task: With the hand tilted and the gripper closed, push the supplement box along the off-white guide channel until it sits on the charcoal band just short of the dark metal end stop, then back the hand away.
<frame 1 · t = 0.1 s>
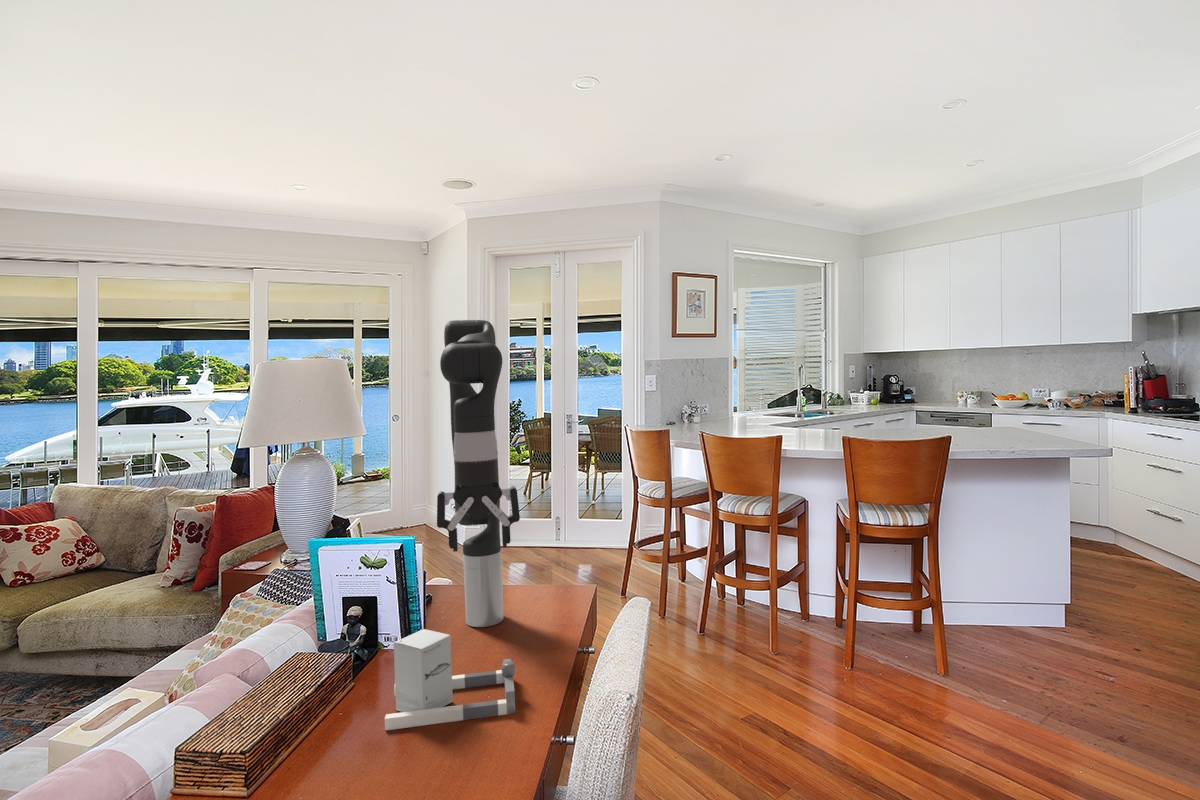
hand: (480, 548, 111), 29 cm above the table, tool pointing down, fingers open, 8 cm apart
supplement box: (425, 707, 115), on the table
guide channel: (453, 702, 116), on the table
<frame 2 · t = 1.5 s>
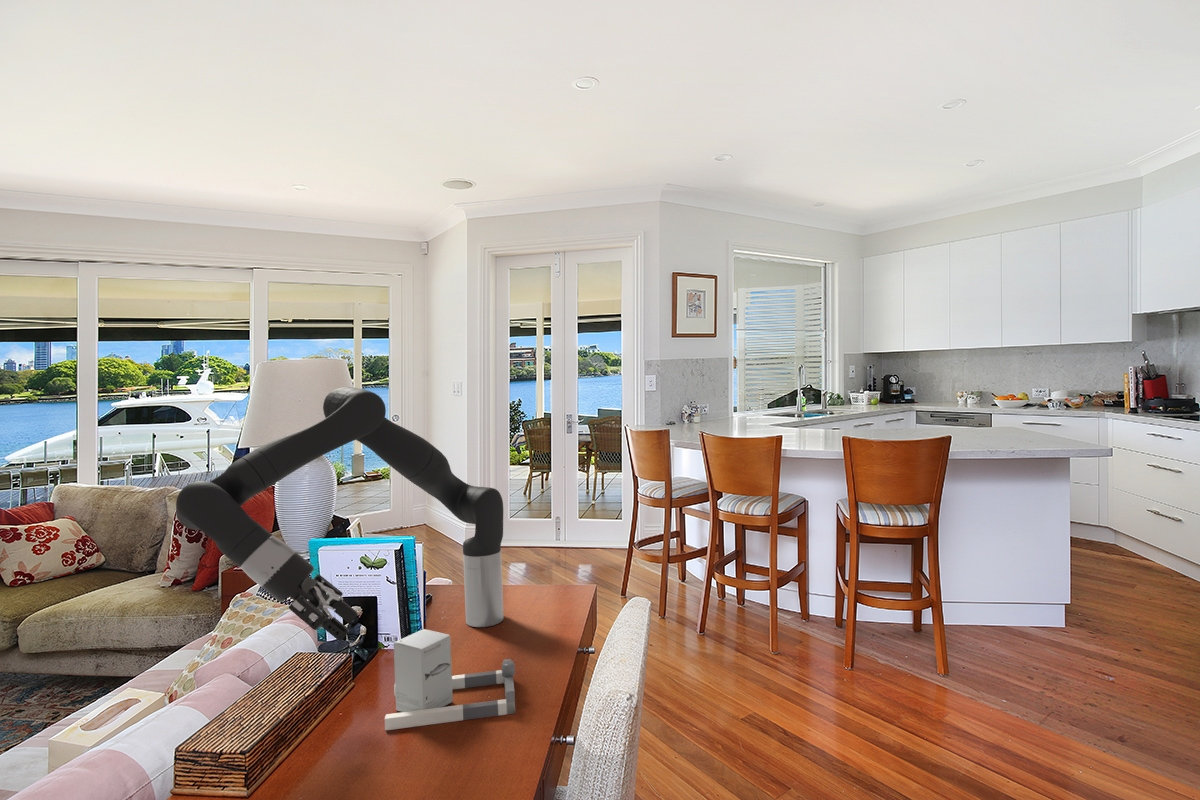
hand: (349, 627, 112), 16 cm above the table, tool tilted 45°, fingers open, 8 cm apart
nothing on the table moved.
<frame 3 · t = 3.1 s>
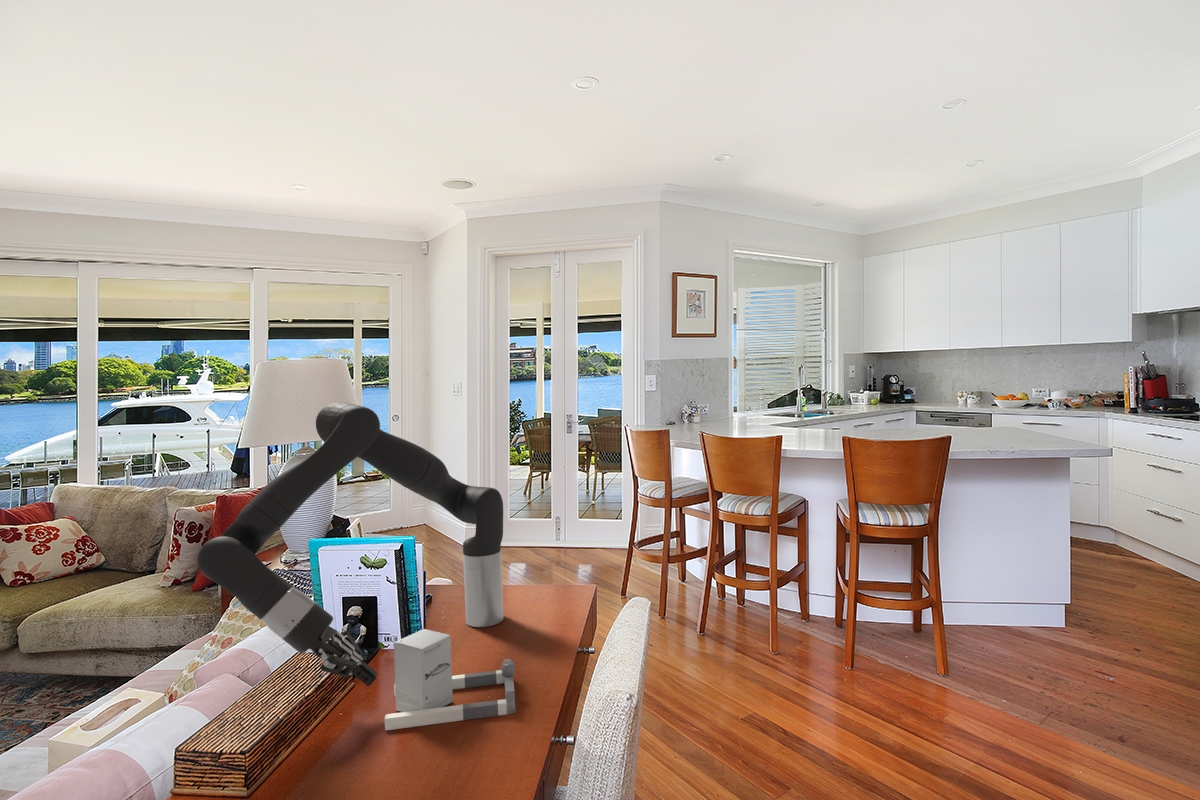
hand: (373, 680, 113), 6 cm above the table, tool tilted 45°, fingers closed
nothing on the table moved.
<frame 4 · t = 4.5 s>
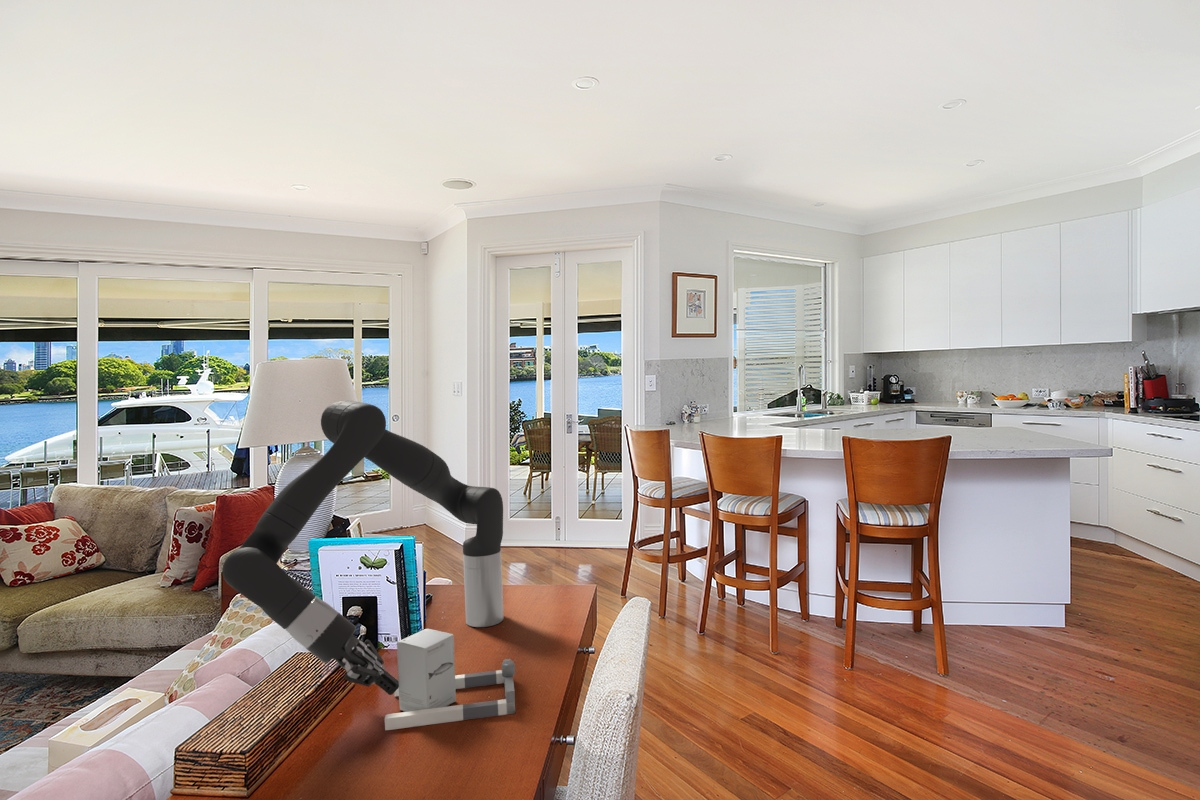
hand: (395, 689, 114), 4 cm above the table, tool tilted 45°, fingers closed
supplement box: (428, 706, 115), on the table, touching gripper
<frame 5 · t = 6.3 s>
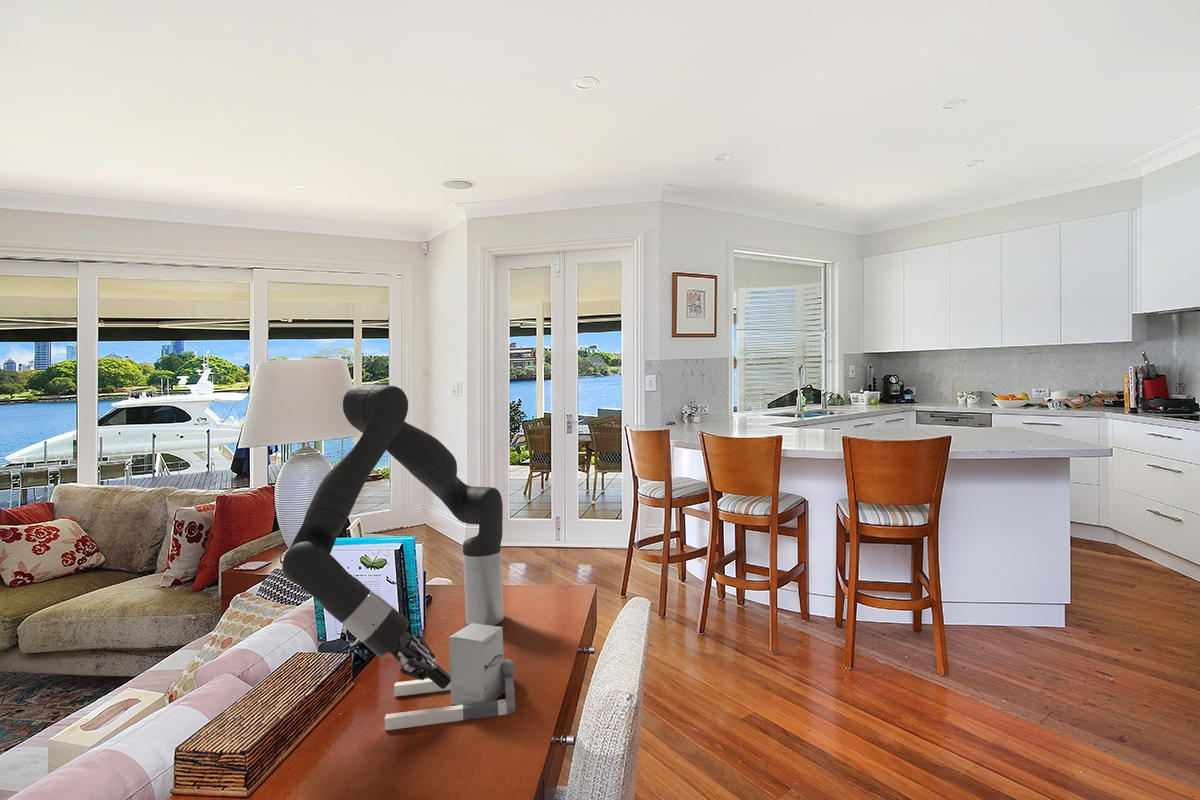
hand: (447, 683, 115), 4 cm above the table, tool tilted 45°, fingers closed
supplement box: (478, 699, 117), on the table, touching gripper, guide channel
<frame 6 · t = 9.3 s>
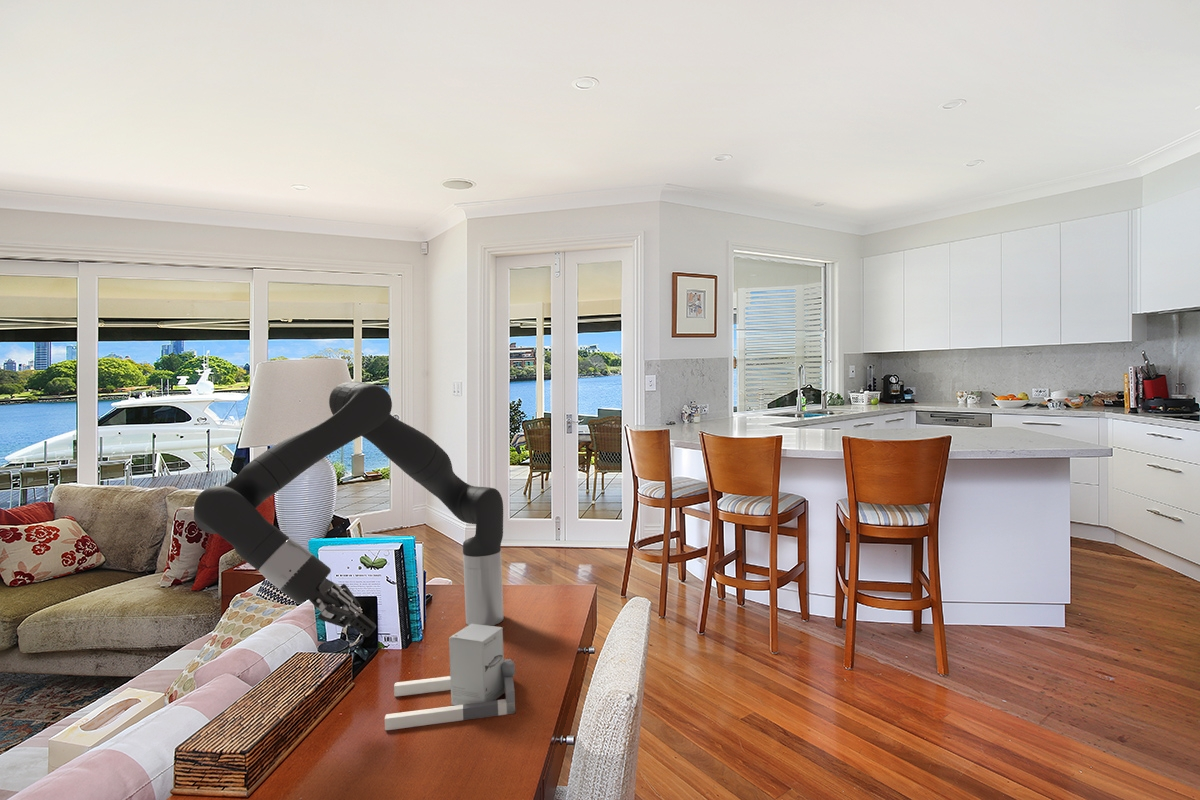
hand: (372, 631, 113), 15 cm above the table, tool tilted 45°, fingers closed
supplement box: (478, 700, 117), on the table
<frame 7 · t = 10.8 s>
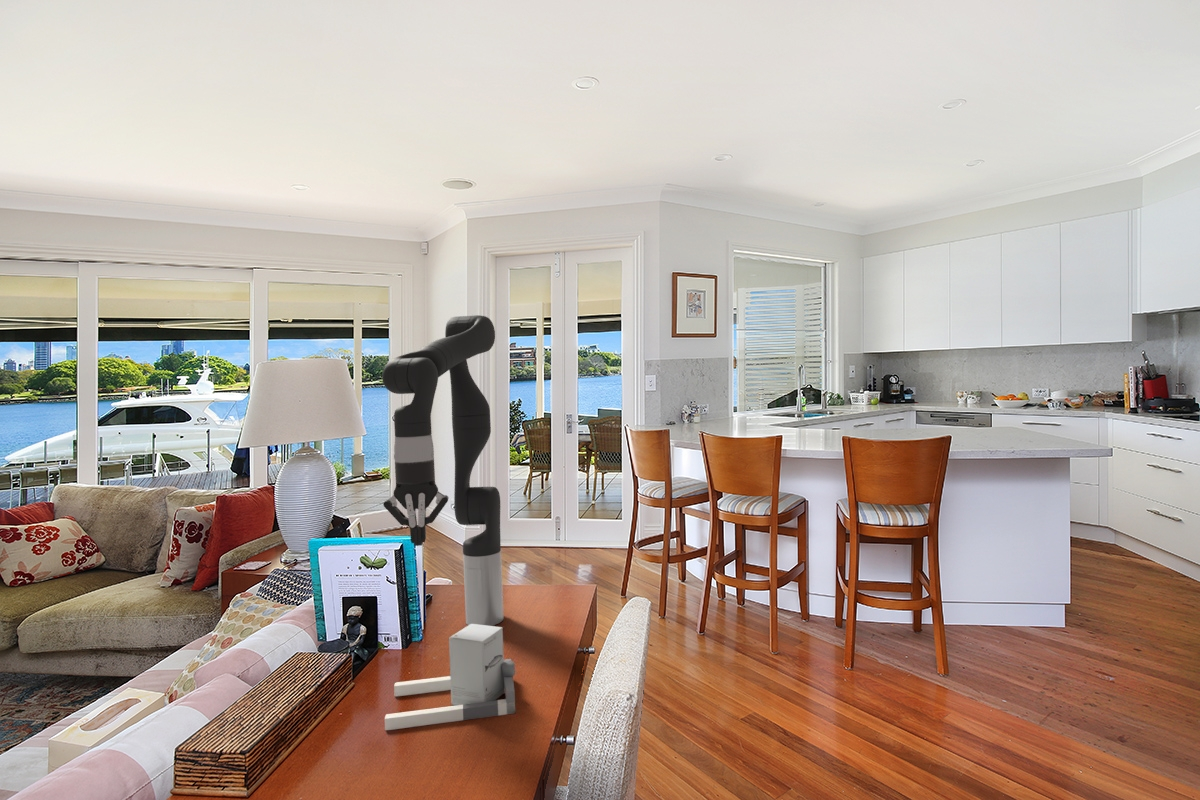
hand: (418, 544, 126), 27 cm above the table, tool pointing down, fingers closed
nothing on the table moved.
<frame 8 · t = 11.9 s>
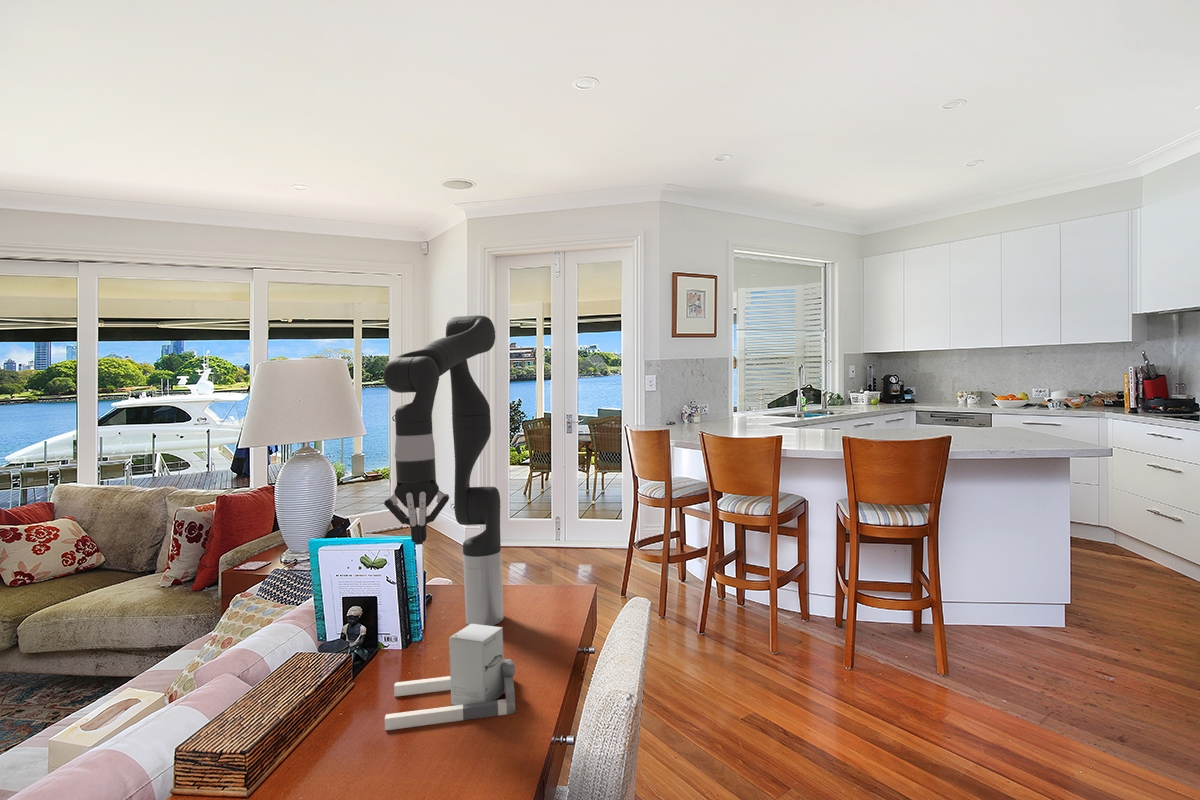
hand: (419, 543, 126), 27 cm above the table, tool pointing down, fingers closed
nothing on the table moved.
at the end: supplement box inside the target area (0.5 cm from its centre), on the table; supplement box tilted 0°; supplement box moved 9.6 cm from its start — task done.
